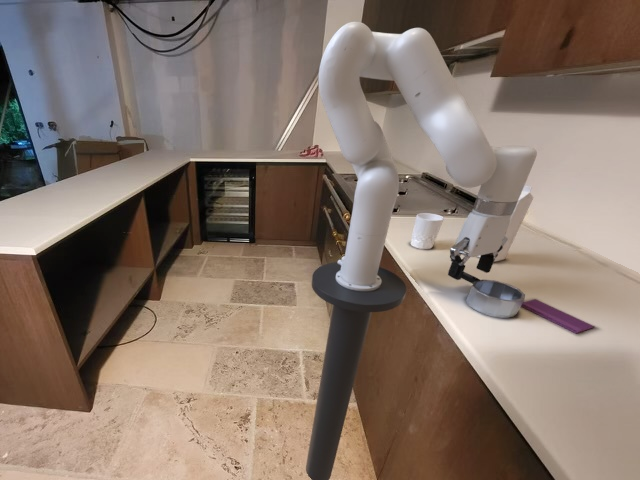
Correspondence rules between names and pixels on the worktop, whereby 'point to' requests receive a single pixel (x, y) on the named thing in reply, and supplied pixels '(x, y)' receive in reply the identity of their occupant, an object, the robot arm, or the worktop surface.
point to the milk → (516, 221)
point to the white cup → (426, 230)
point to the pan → (493, 297)
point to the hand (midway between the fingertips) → (468, 274)
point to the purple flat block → (556, 316)
